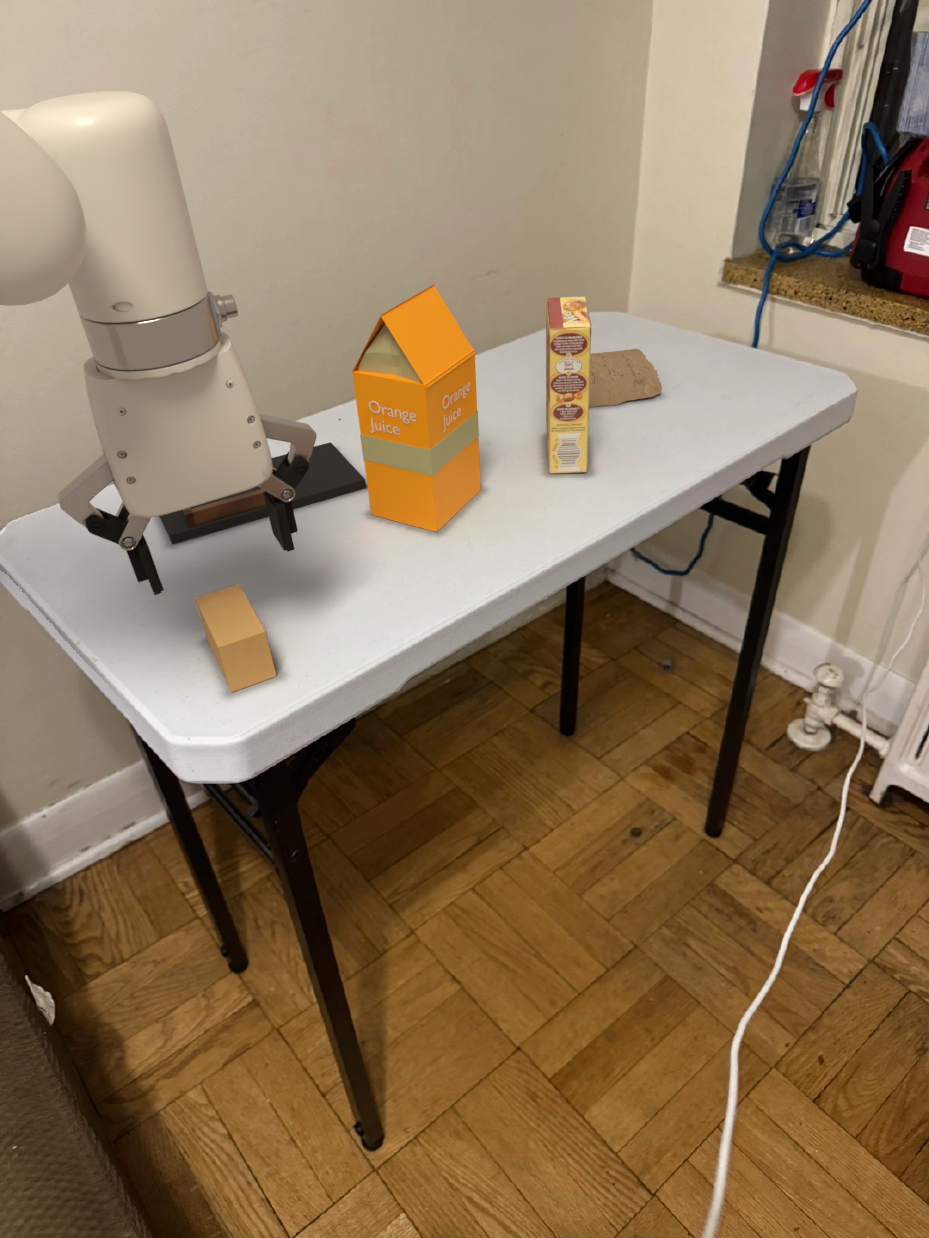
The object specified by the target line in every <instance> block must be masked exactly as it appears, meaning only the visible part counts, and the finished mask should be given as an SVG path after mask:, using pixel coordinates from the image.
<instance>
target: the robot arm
mask: <svg viewBox="0 0 929 1238" xmlns="http://www.w3.org/2000/svg"><path fill="white" fill-rule="evenodd" d="M205 277H206V276H205V273H204V270H203V265H202V261H201V258H200V253H199V249H198V245H197V241H196V237H195V232H194V228H193V225H192V220H191V216H190V212H189V207H188V204H187V199H186V196H185V192H184V188H183V183H182V179H181V175H180V170H179V167H178V163H177V159H176V154H175V150H174V146H173V142H172V139H171V134H170V131H169V128H168V124H167V122H166V119H165V116H164V114H163V113H162V111H161V110H160V108H159V106H158V105H157V104H156V103H155V102H154V100H153V99H151V98H149V97H147V96H146V95H144V94H141V93H138V92H134V91H124V90H105V91H104V90H103V91H92V92H91V91H90V92H81V93H75V94H68V95H63V96H57V97H53V98H50V99H45V100H42V101H39V102H37V103H34V104H33V105H31V106H30V107H25V108H18V109H2V110H1V109H0V306H6V307H12V306H14V307H15V306H26V305H31V304H34V303H35V304H36V303H39V302H42V301H45V300H46V299H48V298H50V297H52V296H54V295H56V294H58V292H60V291H61V290H62V289H64V288H65V287H66V286H67V285H68V286H69V289H70V293H71V296H72V298H73V301H74V303H75V306H76V309H77V312H78V315H79V319H80V322H81V324H82V328H83V330H84V333H85V336H86V340H87V342H88V345H89V348H90V350H91V353H92V357H90V358H88V359H87V360H86V361H85V362H84V364H83V374H84V381H85V382H84V383H85V387H86V393H87V399H88V403H89V407H90V412H91V415H92V416H91V417H92V419H93V423H94V426H95V429H96V433H97V436H98V440H99V443H100V446H101V449H102V453H103V454H101V456H99V457H98V458H97V459H96V460H95V461H93V463H91V465H89V466H88V467H87V468H85V469H84V470H83V471H82V472H81V473H79V474H78V476H76V477H75V478H74V479H73V480H72V481H71V482H69V483H68V484H67V485H66V486H65V487H64V488H62V489H61V490H60V491H59V492H58V494H57V500H58V503H59V504H58V505H59V507H60V509H61V510H62V511H63V512H64V513H65V514H67V515H68V516H70V517H71V519H73V520H75V521H76V522H77V523H78V524H79V525H82V526H83V527H84V528H86V530H87V531H88V533H89V534H92V535H93V536H96V537H99V538H101V539H104V540H107V541H109V542H112V543H114V544H116V545H118V546H119V547H120V548H121V549H122V550H124V551H126V554H127V556H128V559H129V562H130V565H131V567H132V570H133V573H134V575H135V578H136V580H137V583H139V584H140V583H141V582H145V581H148V583H149V585H150V588H151V591H152V593H153V595H154V596H156V595H160V594H162V592H163V591H164V590H165V589H164V586H163V584H162V581H161V578H160V575H159V573H158V570H157V566H156V563H155V561H154V558H153V554H152V553H151V550H150V547H149V545H148V542H147V539H146V538H145V535H144V533H145V531H146V529H147V527H148V525H149V523H150V521H151V519H152V518H157V517H159V516H161V515H165V514H169V513H172V512H176V511H179V510H183V509H186V508H190V507H193V506H196V505H200V504H203V503H207V502H210V501H213V500H217V499H220V498H223V497H227V496H230V495H233V494H237V493H240V492H243V491H246V490H249V489H252V488H254V487H257V486H259V487H260V488H262V489H263V490H265V492H263V495H264V499H265V503H266V507H267V511H268V515H269V516H268V519H269V524H270V527H271V530H272V534H273V536H274V538H275V539H276V541H277V542H278V544H279V545H280V547H281V548H282V550H283V551H284V552H287V553H289V552H292V551H294V550H295V544H294V541H293V535H292V534H295V533H298V531H299V530H298V525H297V521H296V516H295V511H294V509H293V507H292V502H291V501H292V500H293V499H294V497H295V489H296V487H297V486H298V484H299V483H300V481H301V480H302V478H303V477H304V475H305V474H306V472H307V470H308V468H309V463H308V461H309V458H310V457H311V454H312V451H313V448H314V447H315V444H316V441H317V432H316V431H315V430H314V429H313V428H312V426H310V425H309V424H308V423H305V422H301V421H296V420H291V419H286V418H281V417H277V416H271V415H267V414H261V413H260V412H259V409H258V407H257V404H256V400H255V397H254V395H253V392H252V388H251V385H250V383H249V380H248V377H247V375H246V373H245V370H244V367H243V365H242V362H241V360H240V358H239V356H238V353H237V351H236V349H235V347H234V345H233V343H232V341H231V338H230V337H229V335H228V333H226V332H225V331H222V330H221V328H223V323H225V322H227V321H228V319H232V318H236V317H238V316H239V312H238V311H239V310H238V306H237V303H236V300H235V298H234V296H233V294H231V293H230V294H226V295H221V294H214V293H212V292H211V291H209V290H208V286H207V282H206V278H205ZM268 439H269V440H273V441H278V442H285V443H289V444H290V445H289V451H288V452H287V453H286V456H285V457H284V459H283V461H282V462H281V464H280V465H279V467H278V468H277V470H276V469H275V468H273V465H272V458H273V457H272V454H271V450H270V446H269V442H268ZM112 482H113V485H114V487H115V489H116V490H117V492H118V495H119V496H120V499H121V503H120V506H119V507H118V510H117V511H116V513H115V515H114V514H113V513H110V512H107V511H105V510H103V509H100V508H98V507H95V506H94V505H93V504H92V503H91V500H93V499H94V498H95V497H96V496H97V495H98V494H100V492H102V491H103V490H105V489H106V488H107V487H108V486H109V485H110V484H111V483H112Z"/></svg>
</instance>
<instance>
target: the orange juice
mask: <svg viewBox="0 0 929 1238" xmlns="http://www.w3.org/2000/svg"><path fill="white" fill-rule="evenodd" d="M475 351H476V350H475V349H474V348H473V346H472V345H471V344H470V342H469V340H468V339H467V337H466V335H465V333H464V332H463V330H462V328H461V327H460V325H459V323H458V322H457V320H456V319H455V317H454V315H453V314H452V312H451V310H450V309H449V307H448V305H447V304H446V302H445V300H444V299H443V297H442V296H441V293H440V292H439V291H438V289H437V286H436V283H434V284H432V285H430V286H428V287H427V288H424V289H423V290H422V291H420V292H418V293H416V294H414V295H412V296H411V297H409V298H408V299H406V300H404V301H402V302H400V303H399V304H397V305H395V306H393V307H392V308H390V309H389V310H387V311H384V312H383V313H381V314H380V316H379V319H378V320H377V323H376V325H374V328H373V330H372V332H371V334H370V336H369V338H368V340H367V342H366V344H365V346H364V348H363V350H362V352H361V354H360V355H359V357H358V359H357V361H356V364H355V366H354V368H353V369H352V371H351V374H352V379H353V387H354V396H355V402H356V408H357V418H358V424H359V433H360V434H359V437H360V444H361V451H362V460H363V462H364V470H365V476H366V477H365V478H366V486H367V491H368V498H369V507H370V515H371V516H374V517H379V518H382V519H386V520H390V521H394V522H396V523H401V524H404V525H409V526H413V527H416V528H419V529H424V530H427V531H430V532H431V531H432V532H435V533H437V532H438V531H440V530H441V529H442V528H443V527H444V526H445V525H446V524H447V523H448V522H450V520H451V519H452V518H453V517H455V515H456V514H457V513H458V512H459V511H461V510H462V509H463V508H464V507H465V506H466V505H467V504H468V503H469V502H470V501H471V500H473V498H474V497H475V496H476V495H477V494H479V493H480V492H481V490H482V487H481V486H482V485H481V465H480V464H481V463H480V442H479V441H480V440H479V437H480V431H479V430H480V429H479V412H478V397H477V395H478V394H477V374H476V373H477V371H476V352H475Z"/></svg>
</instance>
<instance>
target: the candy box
mask: <svg viewBox="0 0 929 1238" xmlns="http://www.w3.org/2000/svg"><path fill="white" fill-rule="evenodd" d="M586 298H587V297H586V296H563V297H548V298H547V299H546V303H545V304H546V307H545V308H546V310H545V312H546V313H545V315H546V316H545V403H546V404H545V410H546V411H545V412H546V413H545V414H546V418H545V419H546V445H547V459H548V472H549V474H569V473H570V474H571V473H573V474H574V473H587V472H588V462H589V460H588V458H589V433H590V432H589V431H590V430H589V429H590V427H589V426H590V406H589V396H590V361H591V354H592V321H591V317H590V312H589V307H588V303H587V299H586Z"/></svg>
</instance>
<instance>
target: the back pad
mask: <svg viewBox="0 0 929 1238" xmlns="http://www.w3.org/2000/svg"><path fill="white" fill-rule="evenodd" d="M286 454H287V453H286ZM286 454H282V455H277V456H274V457H271V458H272V465H273V468H275V469H276V470H277V468H278V467H279V465H280V464H281V462H282V461H283V459H284V457H285V456H286ZM308 463H309V468H308V470H307V472H306V474H305V475H304V477H303V478H302V480H301V481H300V483H299V484H298V486H297V487H296V489H295V497H294V499H293V500H292V501H291V502H292V507H293V510H294V509H298V508H300V507H305V506H308V505H311V504H315V503H318V502H322V501H325V500H328V499H332V498H335V497H339V496H343V495H345V494H349V493H353V492H355V491H359V490H363V489H366V488H367V481H366V479H365V478H364V476H362V474H361V473H360V472H359V471H358V470H357V469H356V468H355V467H354V465H352V463H351V462H350V461H349V459H347V458H346V457H345V456H344V455H343V453H342V452H341V451H340V450H339V449H338V448H337V447H336V446H335V445H334V444H333V443H332V442H327V443H322V444H319V445H314V448H313V451H312V454H311V457H310V458H309V461H308ZM263 492H265V490H263V489H262V488H260V487H259V486H257V487H254V488H252V489H249V490H246V491H243V492H240V493H237V494H233V495H230V496H227V497H223V498H220V499H217V500H213V501H210V502H207V503H203V504H200V505H196V506H193V507H190V508H186V509H183V510H179V511H176V512H172V513H169V514H165V515H161V516H158V517H159V519H160V521H161V523H162V526H163V527H164V529H165V531H166V534H167V536H168V538H169V540H170V542H171V544H172V545H175V544H178V543H181V542H184V541H188V540H191V539H195V538H199V537H202V536H205V535H208V534H213V533H215V532H218V531H219V532H220V531H223V530H225V529H229V528H232V527H236V526H239V525H243V524H246V523H250V522H253V521H256V520H260V519H263V518H267V517H269V515H268V511H267V507H266V503H265V499H264V495H263Z"/></svg>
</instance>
